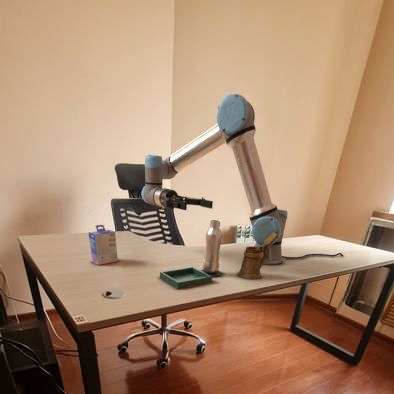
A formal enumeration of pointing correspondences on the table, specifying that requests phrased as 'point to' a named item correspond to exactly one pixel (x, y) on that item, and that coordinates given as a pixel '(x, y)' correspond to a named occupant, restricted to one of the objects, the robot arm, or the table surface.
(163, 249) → the table surface
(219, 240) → the silver metal bottle
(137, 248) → the table surface
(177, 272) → the tray
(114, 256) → the ink cartridge box
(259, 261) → the wooden mug
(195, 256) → the table surface
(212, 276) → the coaster
